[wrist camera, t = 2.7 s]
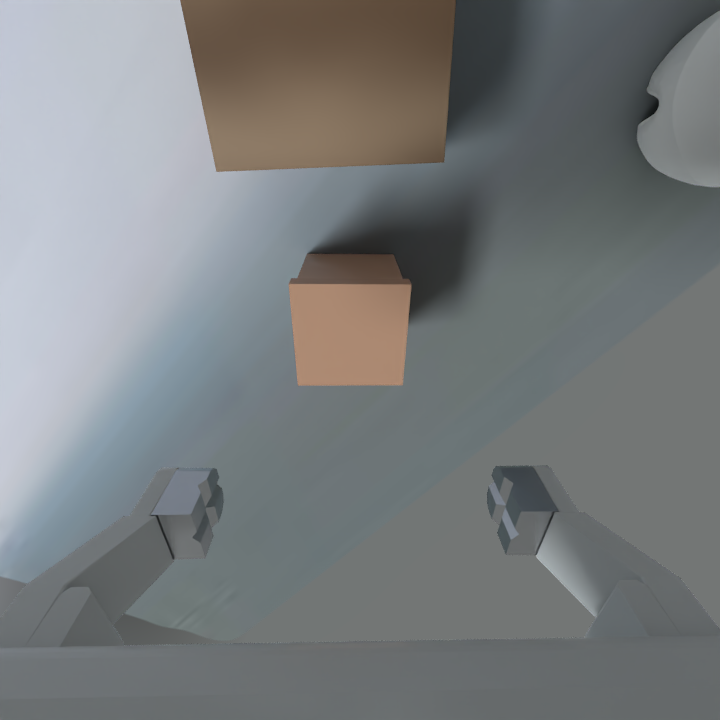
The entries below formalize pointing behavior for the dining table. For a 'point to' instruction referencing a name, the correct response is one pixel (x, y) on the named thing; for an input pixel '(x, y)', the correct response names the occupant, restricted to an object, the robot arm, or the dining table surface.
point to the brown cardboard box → (350, 320)
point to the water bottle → (687, 109)
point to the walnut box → (322, 80)
